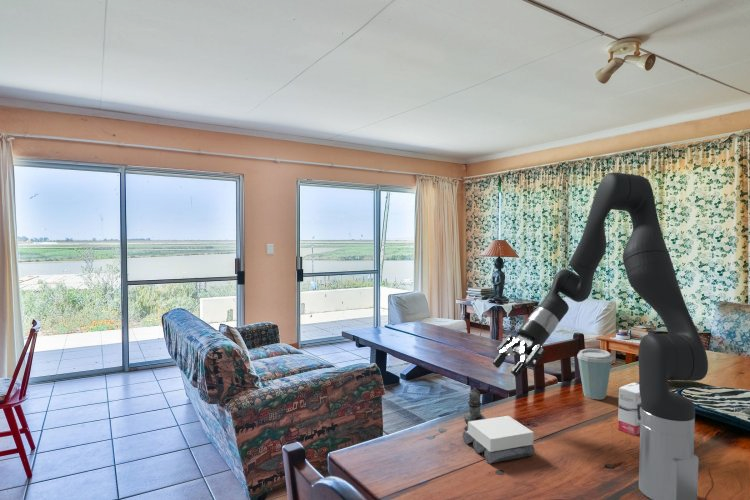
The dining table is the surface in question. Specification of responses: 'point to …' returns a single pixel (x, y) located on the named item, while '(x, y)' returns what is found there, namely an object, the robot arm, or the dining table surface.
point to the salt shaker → (473, 408)
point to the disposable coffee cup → (594, 372)
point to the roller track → (501, 454)
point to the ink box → (629, 409)
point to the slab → (500, 433)
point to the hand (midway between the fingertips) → (504, 370)
